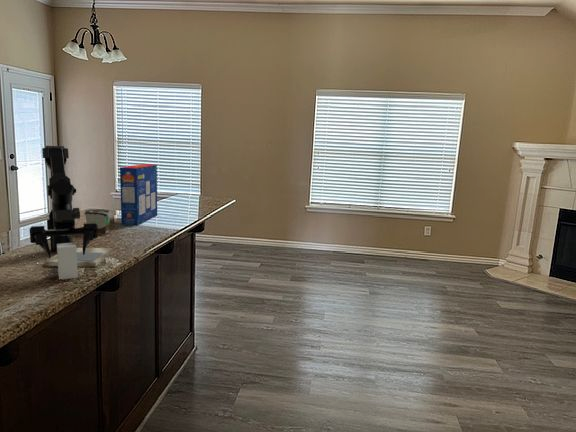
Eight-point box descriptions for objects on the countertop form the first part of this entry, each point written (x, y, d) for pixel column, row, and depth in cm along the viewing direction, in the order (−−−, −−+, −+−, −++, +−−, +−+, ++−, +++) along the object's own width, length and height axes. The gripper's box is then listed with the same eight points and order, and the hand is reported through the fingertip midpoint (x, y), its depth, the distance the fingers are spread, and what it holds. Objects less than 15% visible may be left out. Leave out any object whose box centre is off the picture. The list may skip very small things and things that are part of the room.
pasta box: (143, 214, 232) (142, 164, 227) (157, 215, 232) (156, 164, 227) (121, 224, 204) (119, 167, 199) (137, 225, 204) (136, 168, 199)
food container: (117, 232, 189) (117, 210, 187) (108, 235, 183) (107, 212, 181) (94, 229, 192) (94, 208, 190) (85, 232, 186) (84, 210, 184)
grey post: (58, 274, 131) (56, 243, 129) (76, 272, 133) (74, 242, 132) (59, 279, 127) (57, 247, 125) (77, 277, 129) (76, 246, 127)
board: (45, 265, 139) (45, 261, 138) (67, 251, 156) (67, 246, 156) (95, 266, 140) (95, 261, 140) (112, 252, 158) (112, 247, 158)
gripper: (27, 200, 124) (29, 244, 117) (96, 198, 134) (102, 239, 127) (29, 221, 132) (31, 264, 125) (94, 217, 142) (99, 257, 135)
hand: (67, 255), depth 128 cm, fingers open, 9 cm apart
